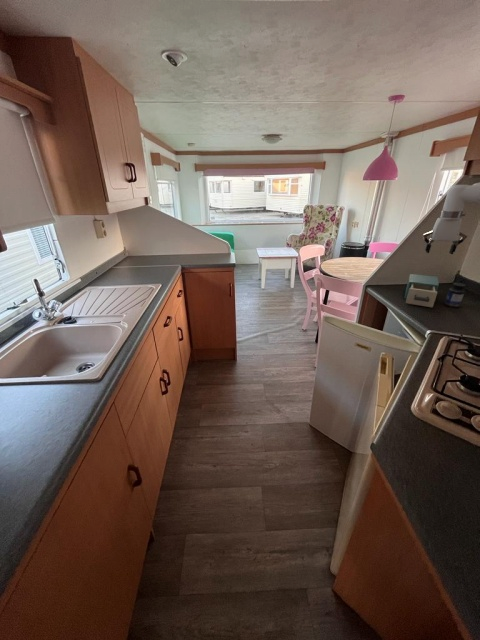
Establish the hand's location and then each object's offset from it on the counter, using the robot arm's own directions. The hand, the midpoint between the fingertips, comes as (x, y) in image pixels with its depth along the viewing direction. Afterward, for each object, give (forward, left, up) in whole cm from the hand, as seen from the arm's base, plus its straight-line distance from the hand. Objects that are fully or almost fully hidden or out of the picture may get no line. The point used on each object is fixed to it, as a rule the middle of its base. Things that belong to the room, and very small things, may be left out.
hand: (439, 253), depth 128 cm
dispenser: (+2, -4, -24) cm, 25 cm away
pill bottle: (-11, +5, -24) cm, 27 cm away
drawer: (+4, +7, -23) cm, 25 cm away
